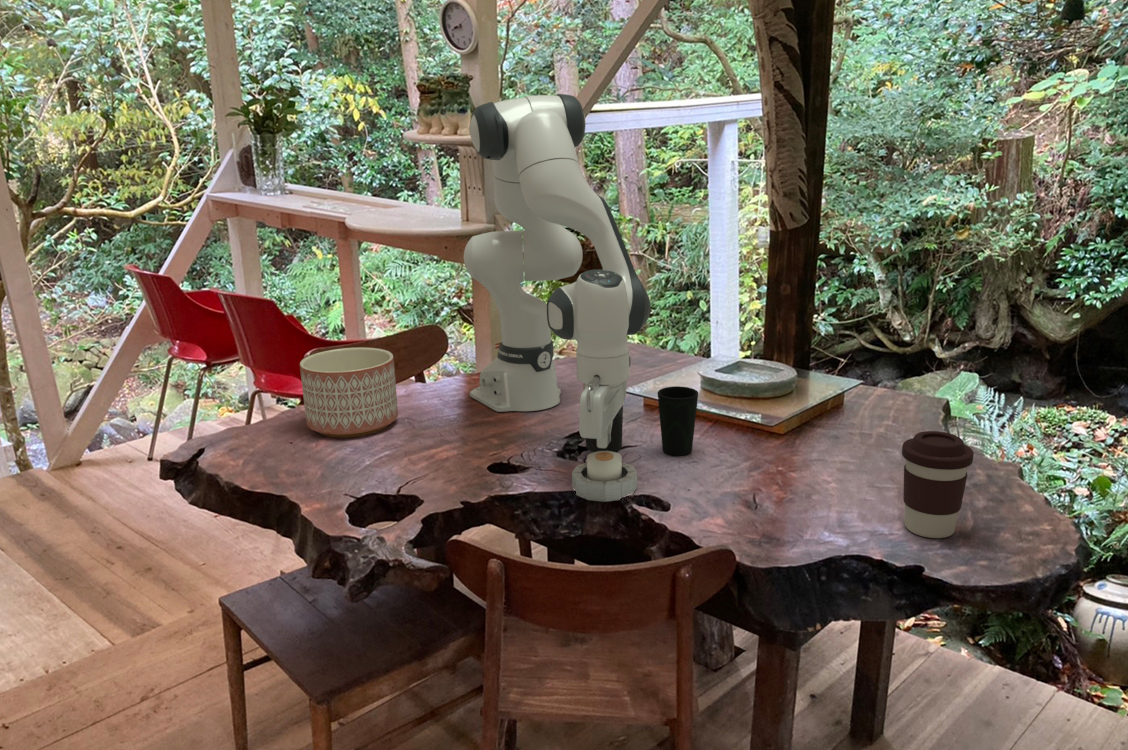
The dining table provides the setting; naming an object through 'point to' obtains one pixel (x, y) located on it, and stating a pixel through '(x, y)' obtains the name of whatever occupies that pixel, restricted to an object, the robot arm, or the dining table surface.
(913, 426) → the dining table surface
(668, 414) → the cup
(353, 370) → the planter
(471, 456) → the dining table surface
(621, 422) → the travel mug
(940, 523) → the coffee cup
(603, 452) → the jar
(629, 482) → the stone fire pit ring
